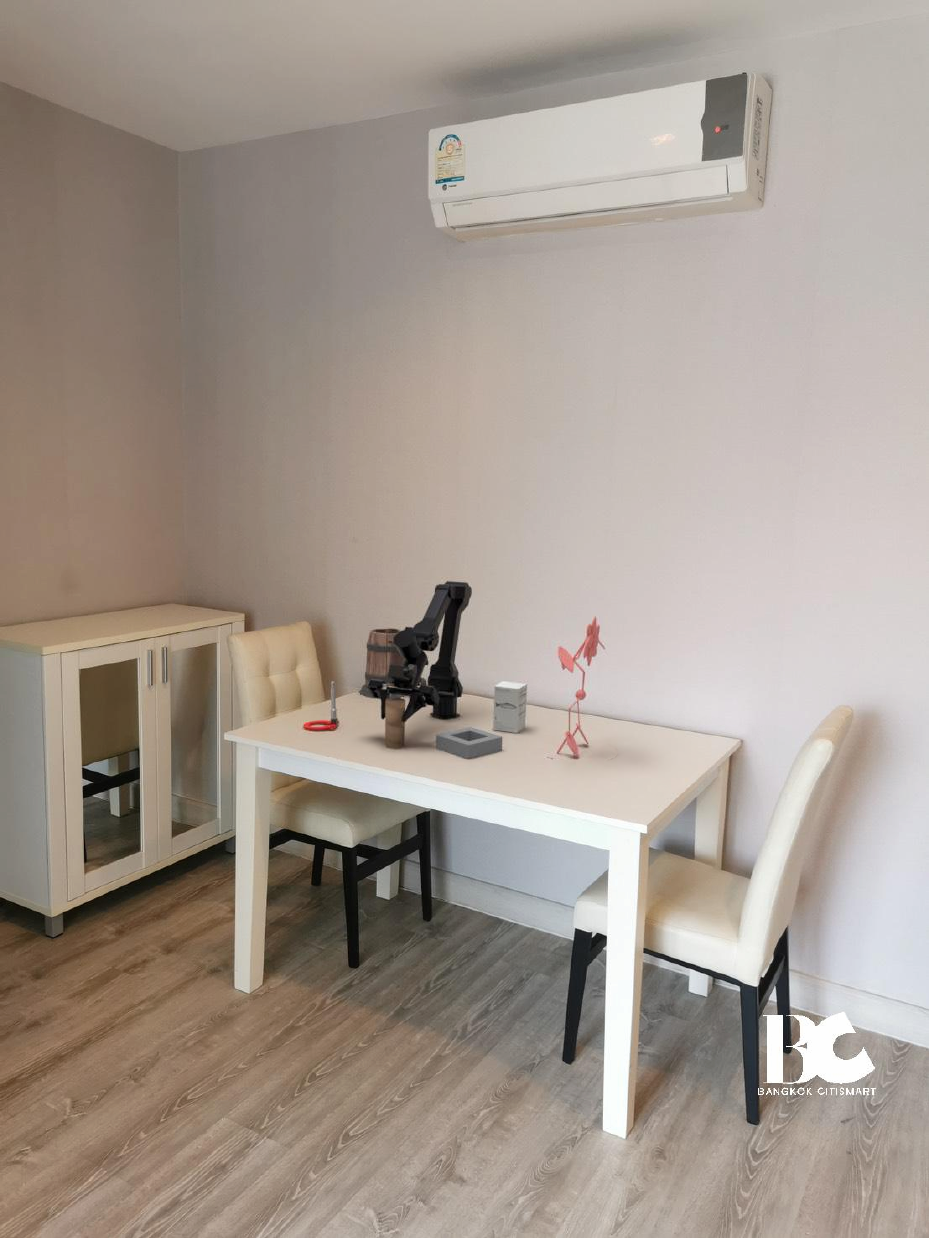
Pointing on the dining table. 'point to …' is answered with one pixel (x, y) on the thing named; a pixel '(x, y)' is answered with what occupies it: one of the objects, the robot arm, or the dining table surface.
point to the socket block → (468, 742)
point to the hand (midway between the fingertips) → (392, 720)
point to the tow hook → (329, 724)
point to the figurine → (568, 663)
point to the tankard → (382, 659)
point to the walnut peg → (394, 723)
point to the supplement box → (509, 706)
